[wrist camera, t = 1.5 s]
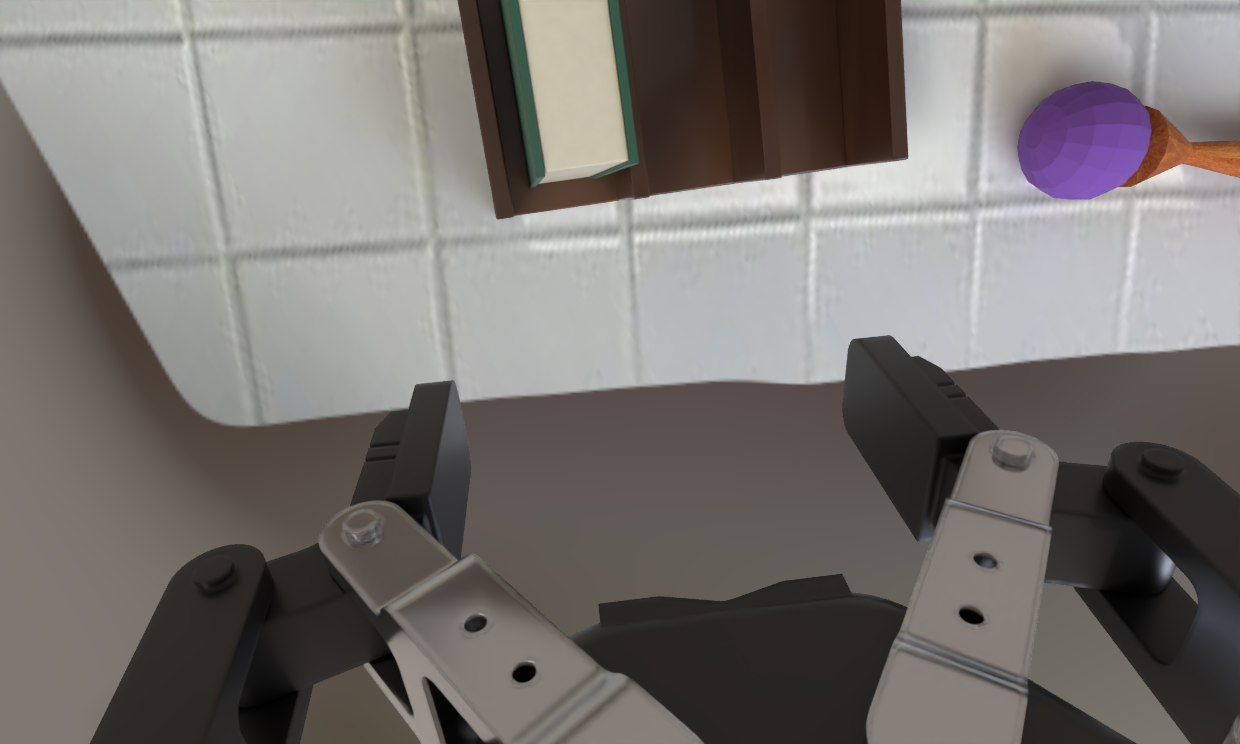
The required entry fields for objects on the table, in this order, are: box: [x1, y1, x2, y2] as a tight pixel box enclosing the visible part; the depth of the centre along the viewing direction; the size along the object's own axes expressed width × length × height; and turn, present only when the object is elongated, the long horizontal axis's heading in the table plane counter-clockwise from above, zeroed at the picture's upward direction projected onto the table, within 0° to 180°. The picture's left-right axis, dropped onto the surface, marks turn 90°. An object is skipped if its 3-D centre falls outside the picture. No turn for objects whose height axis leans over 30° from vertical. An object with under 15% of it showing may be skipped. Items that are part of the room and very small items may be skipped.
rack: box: [458, 0, 908, 219], centre depth 36 cm, size 20×12×6 cm, turn 99°
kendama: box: [1018, 81, 1240, 199], centre depth 41 cm, size 6×6×20 cm
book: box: [499, 0, 639, 188], centre depth 30 cm, size 4×10×14 cm, turn 9°
